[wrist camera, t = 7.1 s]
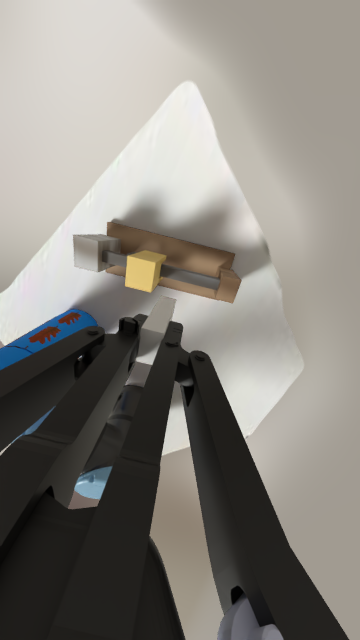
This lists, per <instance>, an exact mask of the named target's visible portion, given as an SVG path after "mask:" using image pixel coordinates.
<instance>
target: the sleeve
mask: <svg viewBox="0 0 360 640" xmlns="http://www.w3.org/2000/svg"><path fill="white" fill-rule="evenodd" d="M165 260H166V255H162V254H158V253H154V252H150V251H146V250H144V251H141V252H138V253H135V254H132V255H128V256H127V267H126V279H125V286H127V287H131V288H135V289H139V290H143V291H147V292H152V291H153V290H154V288H155V287H156V286H157V285H158V284H159V282H160V281H161V280H162V278H163V277H161V276H160V270H161V264H162V263H163V262H164V261H165Z"/></svg>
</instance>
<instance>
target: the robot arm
mask: <svg viewBox="0 0 360 640" xmlns="http://www.w3.org/2000/svg"><path fill="white" fill-rule="evenodd" d="M175 303H176V299H172V298H168V297H164V296H161V297H160V299H159V300H158V302H157V303H156V305H155V307H154V308H153V310H152V311H151V313H150V315H149V316H147V315H143V314H138V315H136V316H135V317H134V318H131V317H125V318H121V319H120V320H119V331H118V332H117V333H116V334H105V330H104V329H103V328H101V327H98V326H88V327H85V328H83V329H81V330H79V331H77V332H75V333H73V334H71V335H69V336H67V337H65V338H63V339H61V340H59V341H57V342H55V343H53V344H51V345H49V346H47V347H45V348H43V349H41V350H39V351H37V352H35V353H33V354H31V355H29V356H27V357H25V358H23V359H21V360H19V361H17V362H15V363H13V364H11V365H9V366H7V367H5V368H3V369H2V370H0V452H1V451H2V450H3V449H4V448H6V447H7V446H8V445H9V444H10V443H11V445H10V446H9V447H8V448H7V449H6V450H5V451H4V452H3V453H2V455H1V456H0V640H185V636H184V633H183V629H182V626H181V622H180V619H179V616H178V612H177V608H176V605H175V602H174V598H173V595H172V591H171V588H170V585H169V581H168V577H167V574H166V571H165V567H164V564H163V561H162V558H161V556H160V553H159V551H158V549H157V547H156V545H155V543H154V542H153V540H152V539H151V537H150V536H149V534H150V529H151V523H152V517H153V511H154V505H155V499H156V493H157V487H158V481H159V475H160V460H161V455H162V449H163V444H164V438H165V432H166V426H167V421H168V415H169V409H170V404H171V398H172V392H173V387H174V381H177V382H178V383H180V384H181V386H180V387H181V393H182V399H183V405H184V411H185V417H186V423H187V428H188V434H189V440H190V446H191V452H192V458H193V464H194V470H195V476H196V482H197V487H198V493H199V499H200V505H201V511H202V517H203V523H204V529H205V535H206V540H207V546H208V552H209V557H210V562H211V567H212V572H213V577H214V581H215V585H216V588H217V592H218V596H219V599H220V603H221V607H222V610H223V613H224V617H223V619H222V621H221V624H220V627H219V631H218V638H217V640H349V639H348V637H347V635H346V634H345V632H344V631H343V629H342V628H341V626H340V624H339V623H338V621H337V620H336V618H335V617H334V615H333V613H332V612H331V610H330V609H329V607H328V606H327V604H326V603H325V601H324V599H323V598H322V596H321V595H320V593H319V591H318V590H317V588H316V587H315V585H314V584H313V582H312V580H311V579H310V577H309V576H308V575H307V573H306V571H305V570H304V568H303V566H302V565H301V563H300V562H299V560H298V559H297V557H296V556H295V554H294V552H293V551H292V549H291V548H290V546H289V543H288V541H287V538H286V536H285V534H284V531H283V529H282V527H281V524H280V522H279V520H278V518H277V515H276V512H275V510H274V508H273V505H272V503H271V501H270V499H269V496H268V494H267V491H266V489H265V486H264V484H263V482H262V480H261V477H260V475H259V472H258V470H257V468H256V466H255V463H254V461H253V458H252V456H251V454H250V451H249V449H248V446H247V444H246V442H245V439H244V437H243V435H242V432H241V430H240V428H239V425H238V423H237V420H236V418H235V416H234V413H233V411H232V409H231V406H230V404H229V402H228V399H227V397H226V395H225V392H224V390H223V387H222V385H221V383H220V380H219V378H218V376H217V373H216V371H215V369H214V366H213V364H212V361H211V359H210V357H209V356H208V355H207V354H206V353H204V352H202V351H198V350H197V351H192V352H191V353H188V352H186V351H185V350H184V349H182V347H181V345H180V343H181V337H182V332H183V326H182V324H181V323H177V322H173V321H172V316H173V312H174V308H175ZM81 355H82V357H81V358H79V359H77V358H78V357H80V356H81ZM136 357H137V360H136V361H138V362H142V363H146V364H150V365H152V367H151V370H150V373H149V375H148V378H147V381H146V383H145V386H144V389H143V388H141V387H137V386H124V385H125V383H126V381H127V379H128V377H129V375H130V373H131V371H132V369H133V367H134V363H135V359H136ZM74 489H75V491H76V492H79V494H80V495H83V496H85V497H89V498H94V499H100V501H99V503H98V506H97V507H89V508H81V509H73V510H72V509H68V506H69V503H70V501H71V498H72V495H73V491H74Z"/></svg>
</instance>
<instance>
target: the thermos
mask: <svg viewBox="0 0 360 640" xmlns="http://www.w3.org/2000/svg"><path fill="white" fill-rule="evenodd" d="M88 326H98V325H97V323H96V321H95V320H94V319H93V318H92V317H91V315H89V314H87V313H86V312H84V311H81V310H78V309H73V310H69V311H67V312H65V313H63V314H61V315H58V316H56V317H54V318H53V319H51V320H49V321H47V322H46V323H44V324H42V325H41V326H39V327H37V328H35V329H34V330H32V331H30V332H28V333H27V334H25V335H23V336H21V337H20V338H18V339H16V340H15V341H13V342H11V343H9V344H8V345H6V346H4V347H3V348H1V349H0V370H2V369H3V368H5V367H7V366H9V365H11V364H13V363H15V362H17V361H19V360H21V359H23V358H25V357H27V356H29V355H31V354H33V353H35V352H37V351H39V350H41V349H43V348H45V347H47V346H49V345H51V344H53V343H55V342H57V341H59V340H61V339H63V338H65V337H67V336H69V335H71V334H73V333H75V332H77V331H79V330H81V329H83V328H85V327H88ZM78 358H79V357H78ZM78 358H77V359H78Z"/></svg>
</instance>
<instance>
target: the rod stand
mask: <svg viewBox="0 0 360 640" xmlns="http://www.w3.org/2000/svg"><path fill="white" fill-rule="evenodd" d="M73 243H74V266H75V267H78V268H82V269H86V270H90V271H94V272H100V271H103V270H105V269H106V272H107V273H111V274H115V275H119V276H123V277H126V267H127V256H128V255H132V254H135V253H138V252H141V251H144V250H146V251H150V252H154V253H158V254H162V255H166V260H165V261H164V262H163V263H162V264H161V270H160V276H161V277H163V278H162V280H161V281H160V282H159V284H158V285H159V286H163V287H167V288H171V289H175V290H179V291H183V292H187V293H191V294H195V295H199V296H203V297H207V298H211V299H215V300H221V301H225V302H229V303H233V302H234V299H235V296H236V294H237V291H238V289H239V286H240V283H241V281H242V280H241V279H240V278H239V277H238V276H237V275H236V273H235V272H234V271H233V270H231V269H230V268H231V265H232V262H233V259H234V257H235V254H234V253H230V252H226V251H222V250H218V249H214V248H210V247H206V246H202V245H198V244H194V243H190V242H186V241H182V240H178V239H174V238H170V237H166V236H163V235H159V234H155V233H151V232H147V231H143V230H139V229H135V228H131V227H127V226H123V225H119V224H115V223H111V222H107V236H106V235H102V234H98V235H73Z"/></svg>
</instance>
